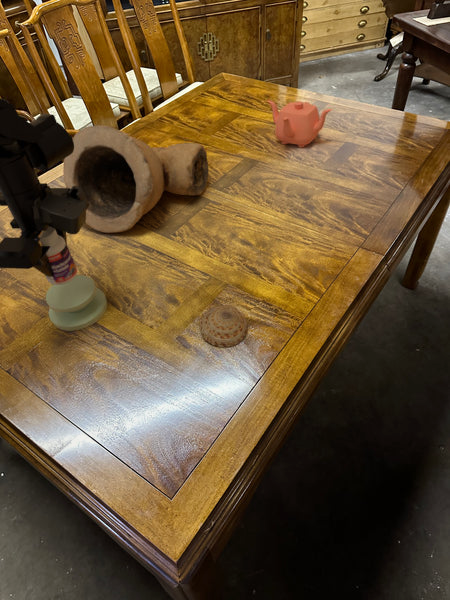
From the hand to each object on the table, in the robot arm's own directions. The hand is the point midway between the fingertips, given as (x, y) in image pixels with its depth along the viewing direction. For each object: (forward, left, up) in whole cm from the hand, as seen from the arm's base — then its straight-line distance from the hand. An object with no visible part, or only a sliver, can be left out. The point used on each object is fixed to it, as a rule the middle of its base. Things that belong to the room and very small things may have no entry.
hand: (57, 265), depth 73 cm
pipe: (+3, +39, -12) cm, 41 cm away
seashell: (+29, -3, -12) cm, 31 cm away
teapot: (+40, +71, -12) cm, 82 cm away
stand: (0, 0, -12) cm, 12 cm away
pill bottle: (0, 0, -3) cm, 3 cm away
